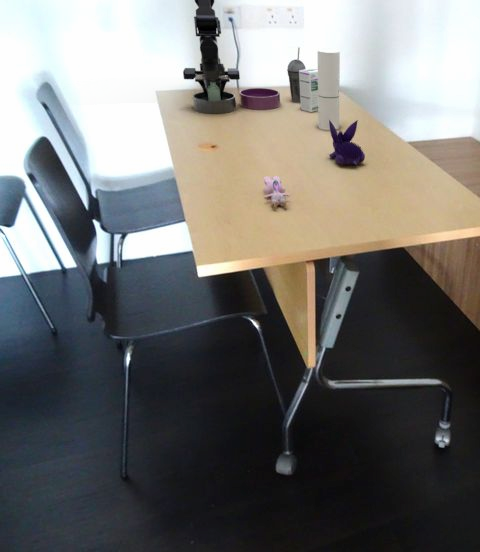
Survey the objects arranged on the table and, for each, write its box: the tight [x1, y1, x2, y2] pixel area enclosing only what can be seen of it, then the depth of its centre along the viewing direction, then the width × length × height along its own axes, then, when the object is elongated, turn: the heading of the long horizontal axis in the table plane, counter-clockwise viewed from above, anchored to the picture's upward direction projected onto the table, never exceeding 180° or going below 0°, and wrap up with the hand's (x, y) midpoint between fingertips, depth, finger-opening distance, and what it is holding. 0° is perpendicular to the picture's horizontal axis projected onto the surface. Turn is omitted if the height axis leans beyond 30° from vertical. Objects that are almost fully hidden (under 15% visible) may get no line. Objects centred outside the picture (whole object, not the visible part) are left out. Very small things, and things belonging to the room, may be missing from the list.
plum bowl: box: [238, 87, 281, 111], centre depth 213 cm, size 15×15×5 cm
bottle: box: [207, 79, 221, 101], centre depth 203 cm, size 4×4×10 cm
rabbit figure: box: [263, 175, 291, 210], centre depth 140 cm, size 6×6×15 cm
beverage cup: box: [286, 46, 307, 104], centre depth 219 cm, size 7×7×20 cm
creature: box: [328, 119, 366, 166], centre depth 165 cm, size 9×18×12 cm, turn 27°
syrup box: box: [299, 67, 318, 113], centre depth 211 cm, size 6×6×14 cm
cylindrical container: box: [317, 48, 341, 131], centre depth 190 cm, size 7×7×25 cm
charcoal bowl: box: [192, 91, 237, 115], centre depth 205 cm, size 15×15×5 cm
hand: (214, 98), depth 204 cm, fingers closed on bottle, 4 cm apart
